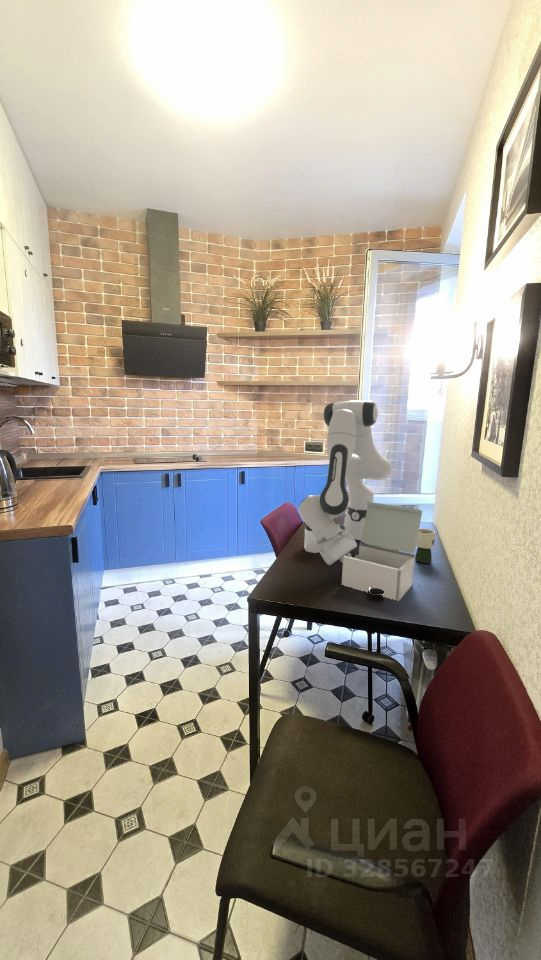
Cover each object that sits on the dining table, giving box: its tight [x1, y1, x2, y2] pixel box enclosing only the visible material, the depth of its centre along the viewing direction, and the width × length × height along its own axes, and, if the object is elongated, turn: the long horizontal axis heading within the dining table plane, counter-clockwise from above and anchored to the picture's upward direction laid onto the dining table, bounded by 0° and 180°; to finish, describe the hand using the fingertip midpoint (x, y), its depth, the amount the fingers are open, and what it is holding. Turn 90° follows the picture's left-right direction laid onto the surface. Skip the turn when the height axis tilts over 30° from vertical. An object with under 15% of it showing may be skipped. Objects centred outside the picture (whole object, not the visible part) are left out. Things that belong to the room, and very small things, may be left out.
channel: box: [341, 542, 416, 602], centre depth 143 cm, size 15×20×12 cm
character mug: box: [414, 528, 436, 564], centre depth 165 cm, size 11×7×13 cm, turn 168°
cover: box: [360, 501, 423, 555], centre depth 148 cm, size 15×20×2 cm
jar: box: [303, 522, 320, 554], centre depth 177 cm, size 9×8×12 cm
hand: (351, 566), depth 149 cm, fingers closed
